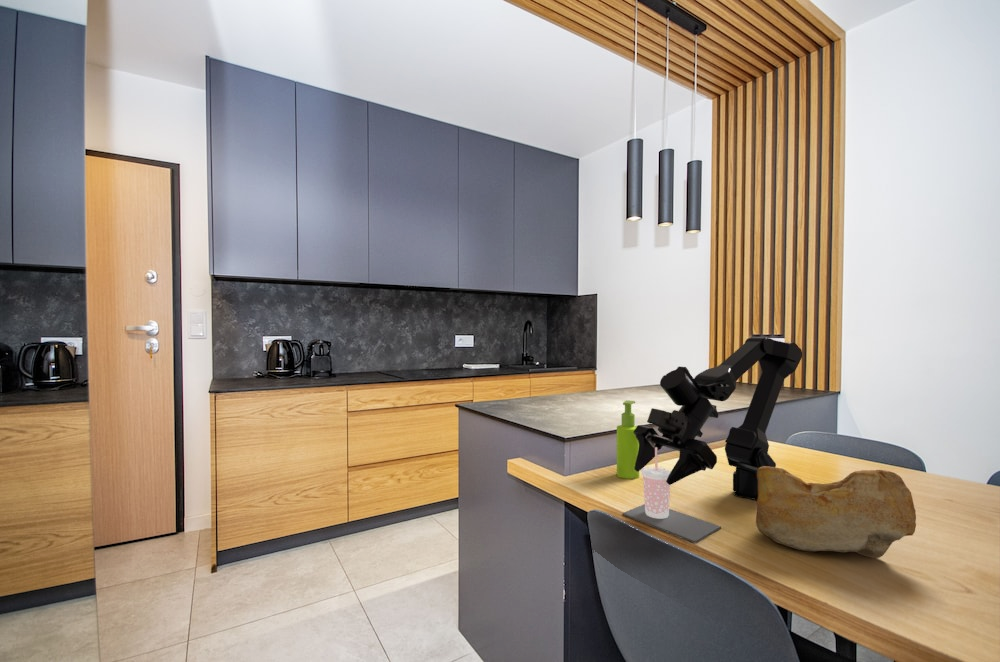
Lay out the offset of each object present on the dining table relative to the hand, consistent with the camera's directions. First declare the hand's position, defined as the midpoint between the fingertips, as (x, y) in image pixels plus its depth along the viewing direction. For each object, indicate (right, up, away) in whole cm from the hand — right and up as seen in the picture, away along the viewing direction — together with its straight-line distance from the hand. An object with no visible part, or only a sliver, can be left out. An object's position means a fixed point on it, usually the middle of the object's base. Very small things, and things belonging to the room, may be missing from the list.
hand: (651, 476), depth 93 cm
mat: (+3, -9, -2) cm, 9 cm away
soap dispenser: (+3, -9, +28) cm, 29 cm away
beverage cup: (+1, -8, +1) cm, 8 cm away
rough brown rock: (+29, -9, -10) cm, 32 cm away
